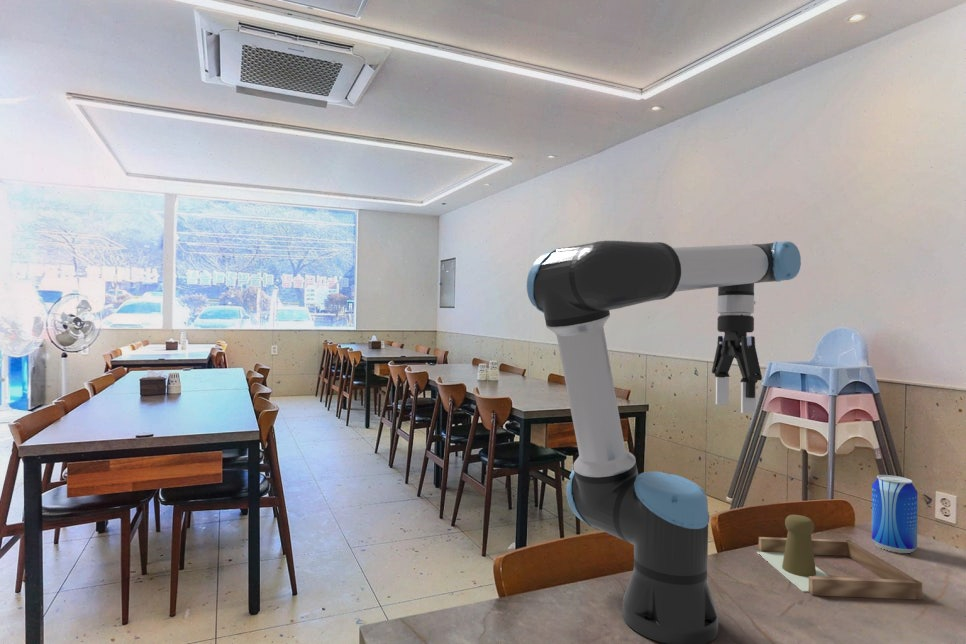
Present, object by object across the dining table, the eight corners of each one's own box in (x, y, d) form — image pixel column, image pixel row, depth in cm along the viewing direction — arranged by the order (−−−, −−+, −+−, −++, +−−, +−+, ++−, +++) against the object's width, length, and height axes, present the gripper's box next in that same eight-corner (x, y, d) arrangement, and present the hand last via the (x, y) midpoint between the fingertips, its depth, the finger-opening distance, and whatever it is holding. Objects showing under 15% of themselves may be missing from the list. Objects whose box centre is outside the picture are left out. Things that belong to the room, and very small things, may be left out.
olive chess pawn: (821, 578, 108) (821, 522, 108) (788, 574, 109) (788, 519, 109) (809, 565, 113) (809, 513, 114) (777, 562, 115) (778, 510, 115)
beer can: (877, 538, 131) (878, 472, 131) (921, 549, 125) (921, 479, 125) (866, 546, 126) (867, 477, 126) (911, 558, 119) (912, 485, 120)
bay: (812, 595, 101) (812, 579, 101) (758, 550, 122) (758, 536, 122) (922, 599, 100) (922, 583, 100) (849, 553, 121) (849, 540, 121)
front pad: (802, 591, 102) (802, 590, 102) (756, 552, 120) (756, 551, 120) (851, 593, 102) (851, 592, 102) (797, 554, 120) (797, 553, 120)
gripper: (780, 313, 110) (779, 417, 110) (729, 317, 135) (728, 402, 134) (743, 312, 110) (742, 416, 110) (698, 316, 135) (697, 401, 135)
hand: (734, 408), depth 122 cm, fingers open, 13 cm apart
